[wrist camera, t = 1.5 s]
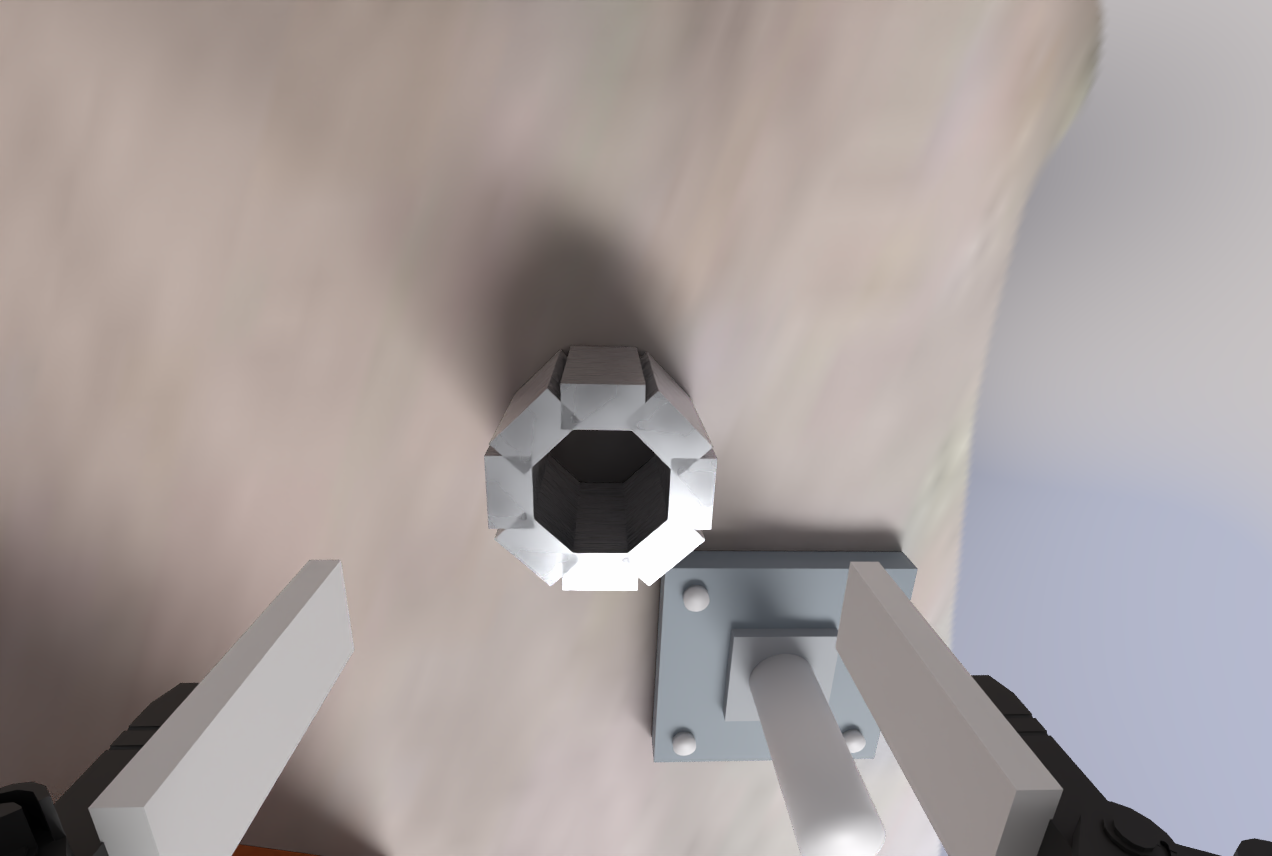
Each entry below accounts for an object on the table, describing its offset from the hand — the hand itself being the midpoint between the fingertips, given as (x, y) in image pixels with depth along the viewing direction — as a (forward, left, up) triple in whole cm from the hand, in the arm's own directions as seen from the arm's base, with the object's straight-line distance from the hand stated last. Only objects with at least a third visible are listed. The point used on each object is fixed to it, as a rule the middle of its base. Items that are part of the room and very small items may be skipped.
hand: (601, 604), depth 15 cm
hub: (0, 0, -12) cm, 12 cm away
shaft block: (+12, +9, -12) cm, 19 cm away
